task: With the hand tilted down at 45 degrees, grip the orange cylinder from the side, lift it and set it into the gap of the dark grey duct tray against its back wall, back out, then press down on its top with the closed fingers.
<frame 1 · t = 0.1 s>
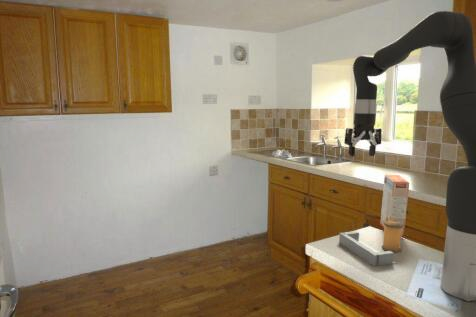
hand: (361, 156, 128), 29 cm above the worktop, tool pointing down, fingers open, 8 cm apart
orange cylinder: (391, 249, 116), on the worktop
duct tray: (365, 252, 113), on the worktop
cracker box: (391, 230, 134), on the worktop
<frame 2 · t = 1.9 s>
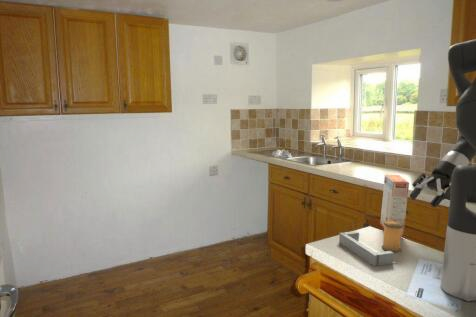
hand: (421, 202, 117), 16 cm above the worktop, tool tilted 45°, fingers open, 8 cm apart
nothing on the worktop moved.
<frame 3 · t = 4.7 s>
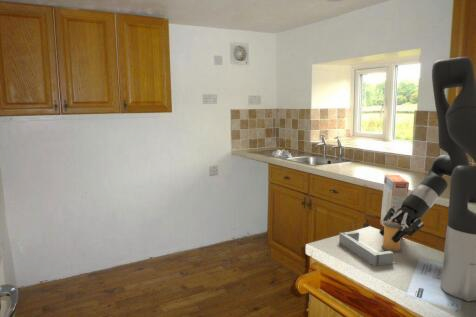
hand: (387, 237, 114), 4 cm above the worktop, tool tilted 45°, fingers closed on orange cylinder, 5 cm apart
orange cylinder: (390, 249, 116), on the worktop, touching gripper
everything else where it was.
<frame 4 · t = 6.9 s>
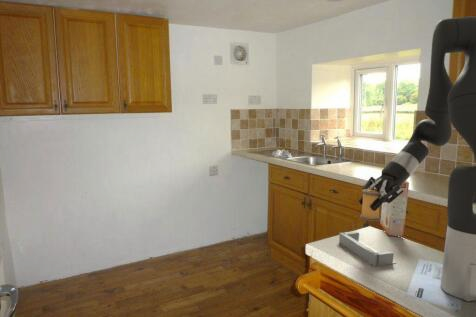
hand: (366, 206, 110), 16 cm above the worktop, tool tilted 45°, fingers closed on orange cylinder, 5 cm apart
orange cylinder: (369, 218, 111), point 12 cm above the worktop, touching gripper
everything else where it was.
when the fingers open (5 cm above the worktop, at t = 9.1 s): orange cylinder drops 1 cm, resting on duct tray.
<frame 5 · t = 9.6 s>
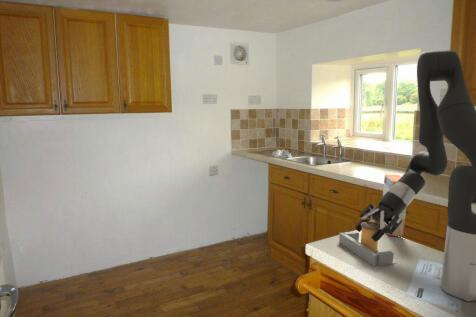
hand: (365, 234, 112), 6 cm above the worktop, tool tilted 45°, fingers open, 8 cm apart
orange cylinder: (368, 251, 113), resting on duct tray
everything else where it was.
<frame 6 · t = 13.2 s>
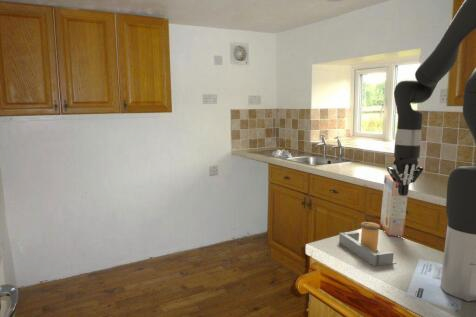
hand: (402, 195, 113), 19 cm above the worktop, tool pointing down, fingers closed
nothing on the worktop moved.
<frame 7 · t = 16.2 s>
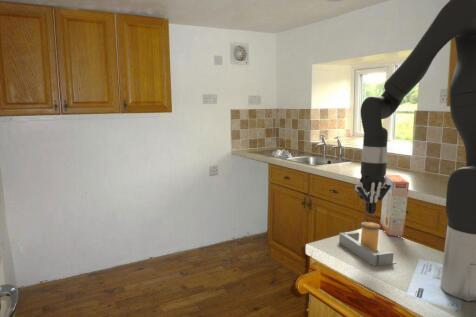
hand: (370, 213, 111), 13 cm above the worktop, tool pointing down, fingers closed
nothing on the worktop moved.
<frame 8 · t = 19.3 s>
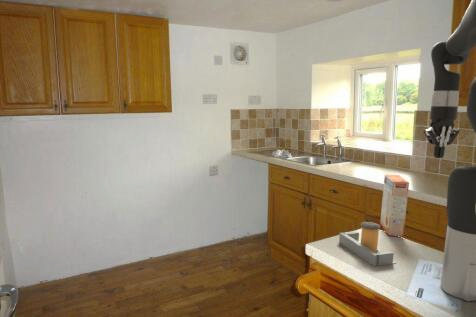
hand: (438, 157, 114), 31 cm above the worktop, tool pointing down, fingers closed
nothing on the worktop moved.
at the end: orange cylinder inside the target area (0.9 cm from its centre), resting on duct tray; orange cylinder tilted 0°; the gripper is holding nothing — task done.
